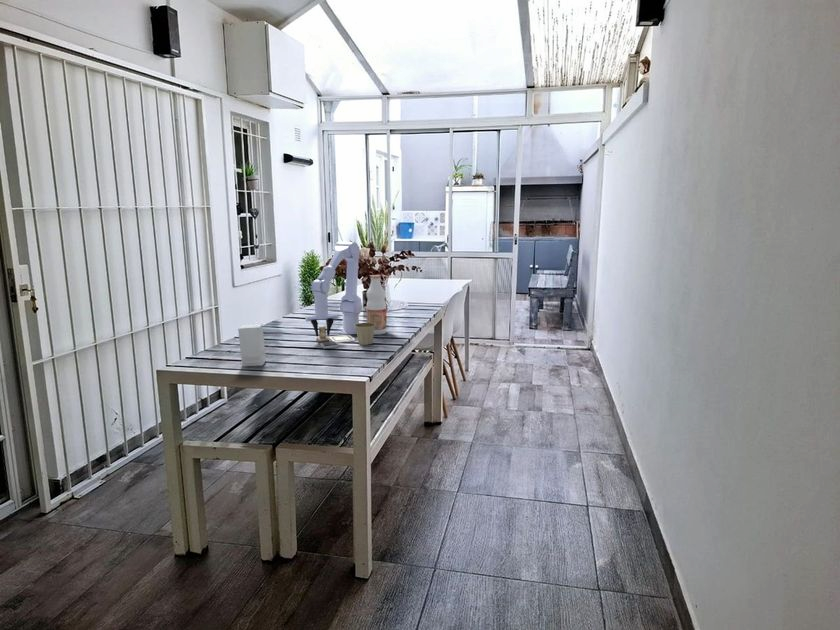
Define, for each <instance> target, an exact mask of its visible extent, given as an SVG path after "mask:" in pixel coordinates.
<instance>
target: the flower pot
mask: <svg viewBox="0 0 840 630" xmlns="http://www.w3.org/2000/svg"><path fill="white" fill-rule="evenodd" d="M375 325H376V324H374V323H367V322H359V323H358V324H355V325H354V326H355V327H356V330H357V333H356V336H357V340H358V344H359V345H362V346H368V345H372V344H373V342H374V341H373V340H374V335H373V334H374V328H375Z"/></svg>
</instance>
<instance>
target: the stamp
mask: <svg viewBox="0 0 840 630" xmlns="http://www.w3.org/2000/svg"><path fill="white" fill-rule="evenodd" d="M316 342H317V344H321V343H322V342H331V340H330V339H329V336H328V335H327V326H324V325H322V326H318V336H316Z"/></svg>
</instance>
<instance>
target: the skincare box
mask: <svg viewBox="0 0 840 630" xmlns="http://www.w3.org/2000/svg"><path fill="white" fill-rule="evenodd" d="M237 330H238V339H239V350H240V357H241V358H240V359H241V366H242V367H258V366H264V364H265V363H266V362H267V359H266V357H267V355H266V348H265V336H264V327H263V323H257V324H256V323H255V324H241V326H240V327H238V328H237ZM265 361H266V362H265Z"/></svg>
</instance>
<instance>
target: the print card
mask: <svg viewBox="0 0 840 630" xmlns="http://www.w3.org/2000/svg"><path fill="white" fill-rule="evenodd" d="M328 338H329V340H330V342H332V341H335V342H336V343H337V344H340V343H342V344H343V343H351V342H352V343H353V342H356V341H357V340H356V338H354V337H353V336H351V334H343V335H333V336H332V335H331V336H328Z"/></svg>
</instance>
